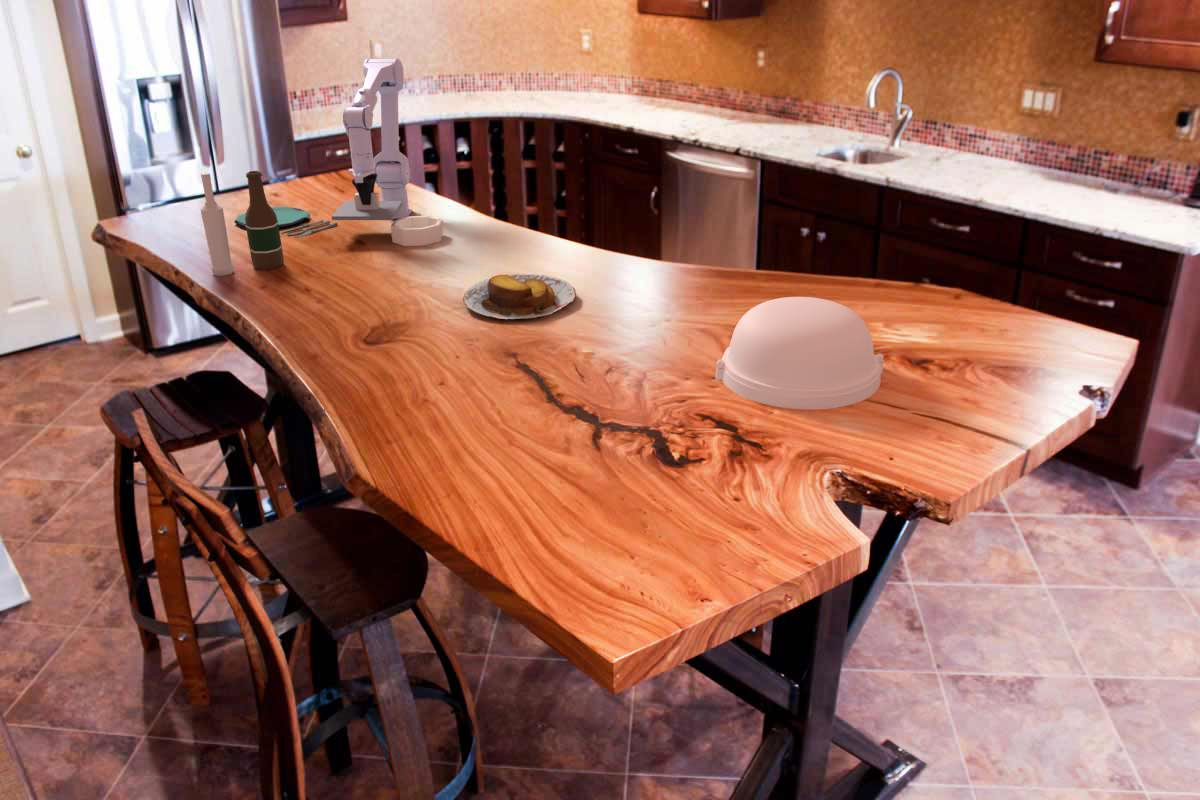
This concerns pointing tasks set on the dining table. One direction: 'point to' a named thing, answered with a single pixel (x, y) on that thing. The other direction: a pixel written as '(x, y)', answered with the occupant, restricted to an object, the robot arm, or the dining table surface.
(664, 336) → the dining table surface
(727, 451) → the dining table surface
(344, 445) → the dining table surface
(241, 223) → the cutlery set
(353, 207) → the lid
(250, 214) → the beer bottle
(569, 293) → the food on plate
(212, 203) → the bottle
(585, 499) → the dining table surface
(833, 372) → the dome cover
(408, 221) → the bowl
